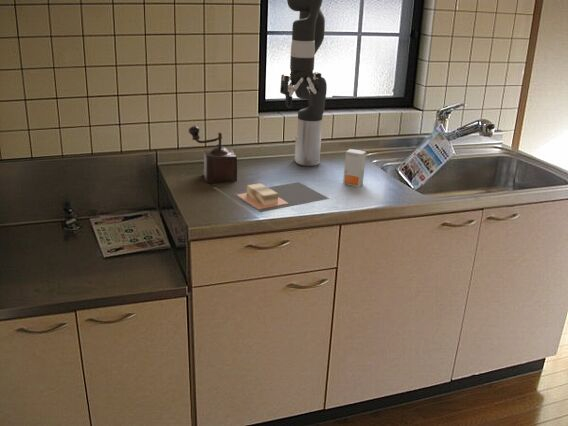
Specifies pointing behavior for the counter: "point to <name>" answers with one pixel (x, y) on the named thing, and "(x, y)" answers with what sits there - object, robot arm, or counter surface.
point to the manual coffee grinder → (217, 160)
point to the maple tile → (262, 194)
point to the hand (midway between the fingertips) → (300, 106)
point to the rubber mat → (285, 196)
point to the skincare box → (354, 167)
